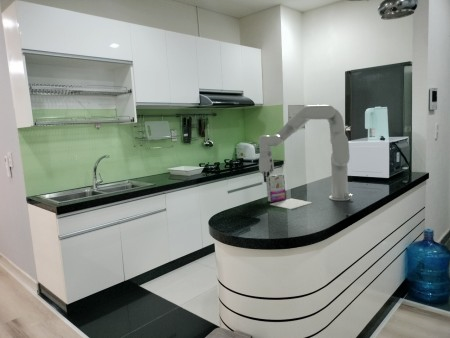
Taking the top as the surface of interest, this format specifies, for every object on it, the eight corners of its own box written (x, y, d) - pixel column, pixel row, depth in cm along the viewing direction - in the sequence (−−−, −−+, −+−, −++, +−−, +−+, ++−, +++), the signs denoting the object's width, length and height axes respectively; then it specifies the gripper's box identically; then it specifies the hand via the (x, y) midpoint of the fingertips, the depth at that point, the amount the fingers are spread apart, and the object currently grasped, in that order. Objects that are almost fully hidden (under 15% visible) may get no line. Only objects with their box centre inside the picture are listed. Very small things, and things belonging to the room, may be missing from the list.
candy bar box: (282, 199, 223) (280, 174, 222) (286, 199, 218) (284, 174, 218) (267, 201, 219) (265, 176, 218) (271, 202, 214) (269, 176, 213)
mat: (312, 203, 209) (312, 202, 209) (290, 209, 197) (290, 208, 197) (291, 198, 222) (291, 198, 222) (269, 204, 210) (269, 204, 210)
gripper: (277, 154, 218) (278, 182, 221) (261, 153, 230) (262, 179, 232) (269, 155, 214) (270, 184, 216) (253, 154, 225) (254, 181, 228)
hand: (266, 181), depth 224 cm, fingers closed
